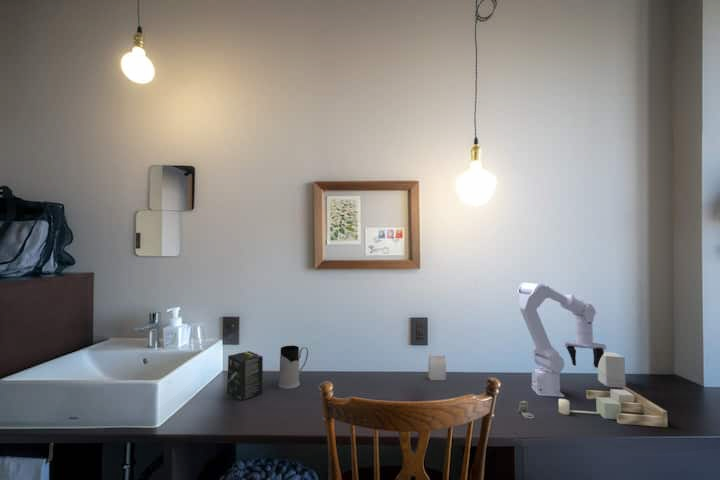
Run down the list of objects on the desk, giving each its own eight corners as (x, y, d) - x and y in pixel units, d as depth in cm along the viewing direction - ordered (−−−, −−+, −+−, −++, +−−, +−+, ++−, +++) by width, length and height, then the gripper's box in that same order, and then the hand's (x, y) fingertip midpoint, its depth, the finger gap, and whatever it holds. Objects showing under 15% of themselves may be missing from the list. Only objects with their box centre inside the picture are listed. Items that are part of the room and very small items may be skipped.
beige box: (445, 380, 144) (445, 356, 145) (430, 380, 144) (430, 356, 145) (443, 377, 148) (443, 354, 149) (428, 377, 148) (428, 354, 149)
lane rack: (618, 423, 108) (618, 408, 108) (586, 397, 127) (586, 384, 128) (667, 427, 106) (667, 411, 106) (626, 400, 125) (626, 387, 126)
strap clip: (535, 420, 110) (535, 407, 111) (526, 420, 110) (526, 407, 110) (521, 408, 119) (521, 396, 119) (513, 408, 119) (513, 396, 119)
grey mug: (273, 384, 138) (274, 348, 138) (300, 375, 148) (301, 341, 149) (287, 390, 132) (287, 352, 133) (314, 380, 143) (314, 345, 143)
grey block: (619, 408, 119) (618, 394, 119) (610, 402, 124) (610, 389, 124) (634, 409, 118) (634, 395, 118) (625, 403, 123) (625, 389, 123)
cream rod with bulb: (562, 415, 113) (562, 400, 113) (556, 408, 118) (555, 394, 118) (621, 419, 110) (621, 404, 110) (612, 412, 115) (611, 397, 115)
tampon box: (263, 394, 128) (263, 355, 129) (240, 401, 121) (241, 361, 122) (248, 386, 136) (249, 350, 136) (226, 393, 129) (227, 354, 130)
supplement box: (626, 388, 137) (625, 357, 138) (606, 386, 139) (605, 356, 139) (616, 381, 144) (615, 352, 145) (597, 380, 146) (596, 351, 146)
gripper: (566, 333, 135) (567, 367, 134) (608, 335, 131) (609, 371, 130) (562, 329, 142) (562, 361, 141) (601, 332, 137) (602, 365, 137)
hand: (584, 365), depth 136 cm, fingers open, 7 cm apart
